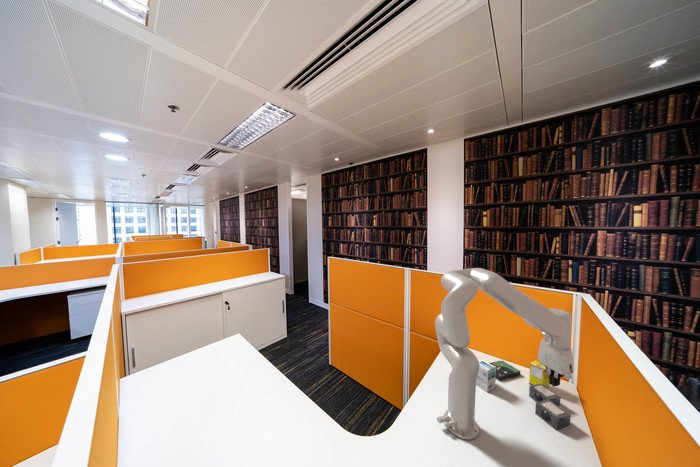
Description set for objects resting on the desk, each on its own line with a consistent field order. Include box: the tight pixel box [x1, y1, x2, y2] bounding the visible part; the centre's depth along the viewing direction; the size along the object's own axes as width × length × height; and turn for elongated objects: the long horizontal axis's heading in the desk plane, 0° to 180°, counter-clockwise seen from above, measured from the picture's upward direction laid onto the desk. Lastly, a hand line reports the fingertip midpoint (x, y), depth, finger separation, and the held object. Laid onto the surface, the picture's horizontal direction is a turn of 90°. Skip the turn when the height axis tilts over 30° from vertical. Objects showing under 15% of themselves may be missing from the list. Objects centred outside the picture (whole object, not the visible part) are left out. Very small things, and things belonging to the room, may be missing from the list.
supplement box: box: [528, 359, 550, 389], centre depth 111 cm, size 6×6×11 cm
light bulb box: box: [475, 355, 496, 393], centre depth 113 cm, size 11×7×11 cm, turn 28°
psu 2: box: [534, 399, 572, 432], centre depth 92 cm, size 7×8×5 cm
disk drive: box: [488, 360, 521, 381], centre depth 121 cm, size 10×3×15 cm
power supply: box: [528, 383, 562, 408], centre depth 101 cm, size 7×8×5 cm
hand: (554, 384), depth 91 cm, fingers closed
